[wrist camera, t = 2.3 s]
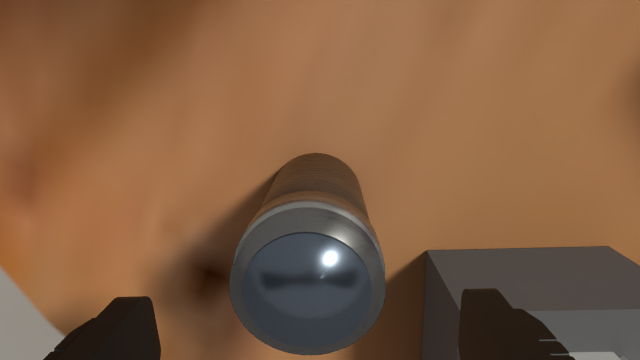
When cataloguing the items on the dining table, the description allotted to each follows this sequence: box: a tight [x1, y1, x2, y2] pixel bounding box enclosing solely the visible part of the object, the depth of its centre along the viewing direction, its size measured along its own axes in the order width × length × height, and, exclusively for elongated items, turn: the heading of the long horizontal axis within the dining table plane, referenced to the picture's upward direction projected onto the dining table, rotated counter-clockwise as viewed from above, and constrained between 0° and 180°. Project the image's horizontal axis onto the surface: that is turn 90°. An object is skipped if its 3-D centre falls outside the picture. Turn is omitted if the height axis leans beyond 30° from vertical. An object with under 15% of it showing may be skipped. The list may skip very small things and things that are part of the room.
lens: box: [229, 153, 386, 355], centre depth 14 cm, size 5×5×8 cm
